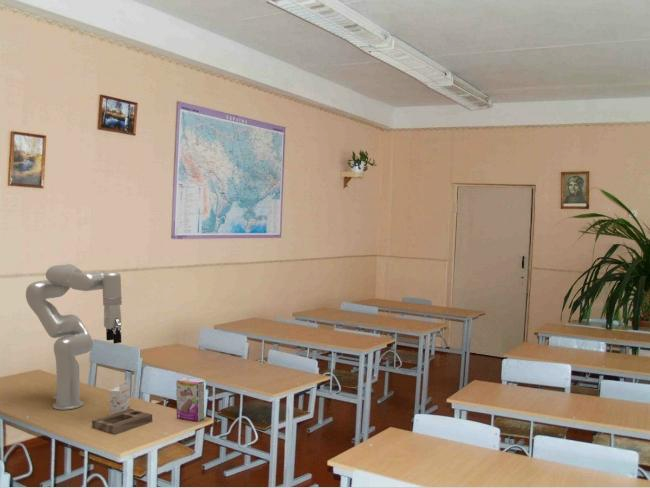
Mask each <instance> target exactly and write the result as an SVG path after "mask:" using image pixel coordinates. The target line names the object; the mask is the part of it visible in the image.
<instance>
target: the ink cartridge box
mask: <svg viewBox="0 0 650 488" xmlns="http://www.w3.org/2000/svg"><path fill="white" fill-rule="evenodd" d="M124 384H125V385H124ZM130 391H131V389H130V380H129V379H128V378H127V379H126V380H124V381H122V382H120V383H118V386H116V387H114V388H112V389H110V390H109V407H110V408H109V409H110V412H109V413H110V414H109V415H111V414H114V413H117V412H121V411H124V410H127V409H131V404H130V403H131V398H130V397H131V393H130Z"/></svg>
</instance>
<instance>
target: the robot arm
mask: <svg viewBox="0 0 650 488" xmlns="http://www.w3.org/2000/svg"><path fill="white" fill-rule="evenodd" d="M121 277H122V276H121V274H120V273H119V272H109V271H108V272H107V271H98V272H96V271H95V272H94V271H93V272H85V273H84V272H82V270H81V269H80V268H78V267H77V266H76V265H74V264H59V265H58V264H57V265H53V266H51V267H49V268H48V269H47V270H46V272H45V278H46V279H45V280H44V279H43V280H38V281H33V282H31V283H30V284H29V285H28V286H27V287H26V291H25V300H26V302H27V304H28V306H29V308H30V309H31V311H33V313H34V314H35V315H36V317H37V318H38V320H39V321H40V322H39V323H41V325H42V327H43V329H44V330H45V332H46V333H47V335H48V336H49V337H50V338H52V339H56V341H54V344H53V353H54V356H55V365H56V366H55V369H56V395H54V396H53V399H54V400H56V401H55V402H54V403H53V405H52V406H53V409H54V410H59V411H61V410H62V411H68V410H75V409H78V408H80V407H83V405H84V401H83V400H81V397H80V396H81V393H80V392H81V391H80V389H81V386H80V384H81V383H80V364H79V362H78V361H77V359H76V357H77V356H81V355H85V354H87V353H89V352H91V351H92V349H93V345H94V343H93V337H92V336H91V334H90V333H89V331H88V330H87V328H86V326H85V324H84V323H83V322H82V320H81V318H79V316H77V315H75V314H65V315H62V314H61V313H60V312H59V311H58V309H57V307H56V306H55V305H54V304H53V303H52V302H50V301H48V300H47V299H55V298H60V297H63V296H65V295H66V293H68V291H69V290H70V289H72V290H76V291H84V292H91V291H97V290H102V306H103V326H104V328H105V332H106V333H105V334H106V337H105V338H106V341H113V344H120V343H122V328H121V327H122V313H121V305H122V302H123V301H122V279H121ZM57 338H58V339H57Z"/></svg>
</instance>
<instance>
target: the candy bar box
mask: <svg viewBox="0 0 650 488" xmlns="http://www.w3.org/2000/svg"><path fill="white" fill-rule="evenodd" d="M176 419H180V420H187V421H193V422H200V421H202V420H204V419H205V381H204V380H198V379H193V378H186V377H182V378H179V379H177V380H176Z"/></svg>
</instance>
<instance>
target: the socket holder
mask: <svg viewBox="0 0 650 488" xmlns="http://www.w3.org/2000/svg"><path fill="white" fill-rule="evenodd" d="M151 422H153V413H149V412H146V411H145V412H144V411H141V410H137V409H133V408H130V409H127V410H124V411H121V412H117V413H114V414H111V415H110V414H108V415H105V416H103V417H102V416H101V417H98V418H96V419H92V420H91V428H92V429H94V430H95V429H96V430H97V431H98V430H99V431H102V432H105V433H108V434H109V433H110V434H112V435H118V434H120V433H123V432H126V431H129V430H132V429H134V428H139V427H140V426H142V425H143V426H144V425H146V424H149V423H151Z"/></svg>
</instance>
